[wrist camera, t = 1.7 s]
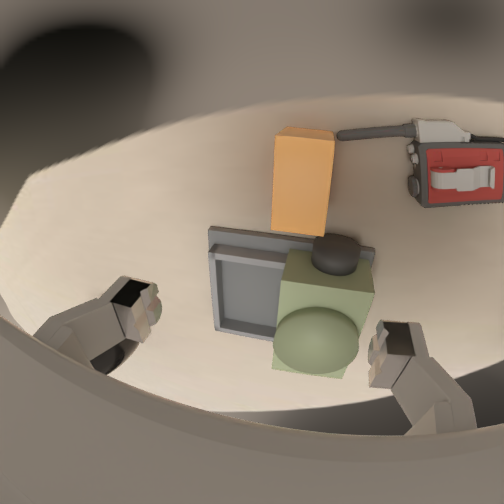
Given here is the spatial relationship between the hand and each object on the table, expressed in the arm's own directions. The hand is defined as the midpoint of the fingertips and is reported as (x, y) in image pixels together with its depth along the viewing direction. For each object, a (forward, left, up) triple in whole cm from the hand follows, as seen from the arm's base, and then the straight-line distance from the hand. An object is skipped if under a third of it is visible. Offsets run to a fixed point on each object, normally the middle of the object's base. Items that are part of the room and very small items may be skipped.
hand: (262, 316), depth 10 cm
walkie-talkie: (-13, -3, -22) cm, 26 cm away
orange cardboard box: (0, 0, -22) cm, 22 cm away
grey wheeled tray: (+1, +16, -21) cm, 27 cm away
